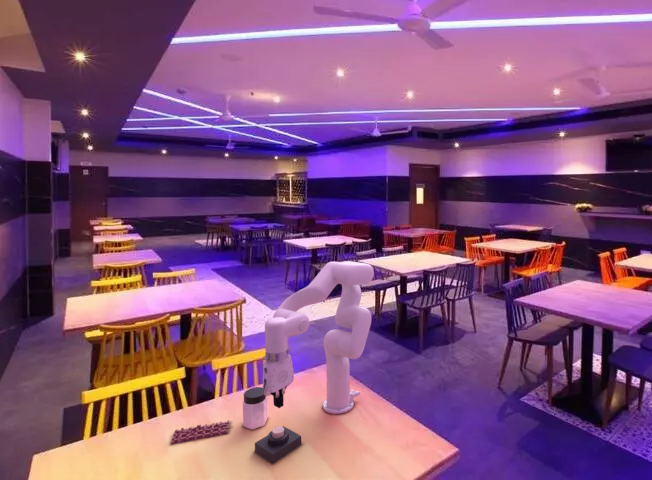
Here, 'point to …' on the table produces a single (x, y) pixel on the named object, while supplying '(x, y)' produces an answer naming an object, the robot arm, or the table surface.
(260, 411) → the jar
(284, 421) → the table surface
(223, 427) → the chocolate bar
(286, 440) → the black push button
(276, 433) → the pink short cylinder
